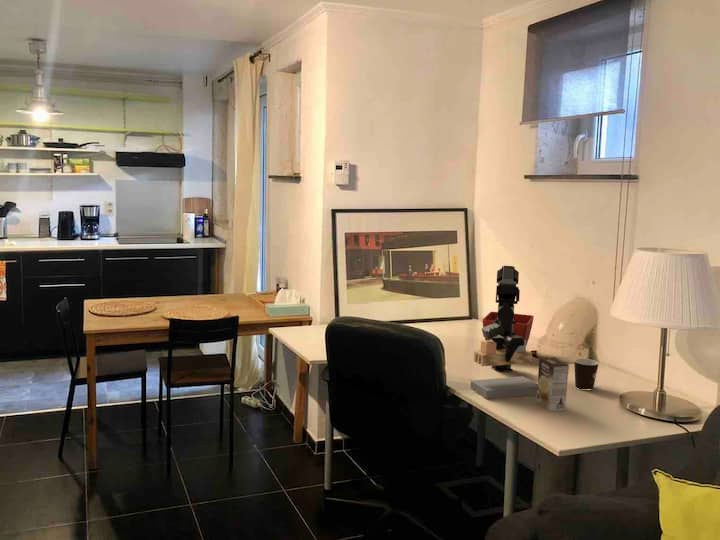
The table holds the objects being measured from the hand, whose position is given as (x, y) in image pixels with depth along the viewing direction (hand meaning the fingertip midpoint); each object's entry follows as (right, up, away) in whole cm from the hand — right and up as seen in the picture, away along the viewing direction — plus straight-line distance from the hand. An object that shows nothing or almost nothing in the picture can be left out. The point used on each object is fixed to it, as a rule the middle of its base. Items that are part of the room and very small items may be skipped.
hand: (502, 359), depth 249 cm
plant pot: (+12, -5, +49) cm, 50 cm away
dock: (+1, -12, -1) cm, 12 cm away
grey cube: (+6, +3, +2) cm, 7 cm away
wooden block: (0, -1, 0) cm, 1 cm away
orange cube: (-6, +3, -2) cm, 7 cm away
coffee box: (+13, -14, -16) cm, 25 cm away
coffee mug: (+33, -12, +7) cm, 35 cm away
